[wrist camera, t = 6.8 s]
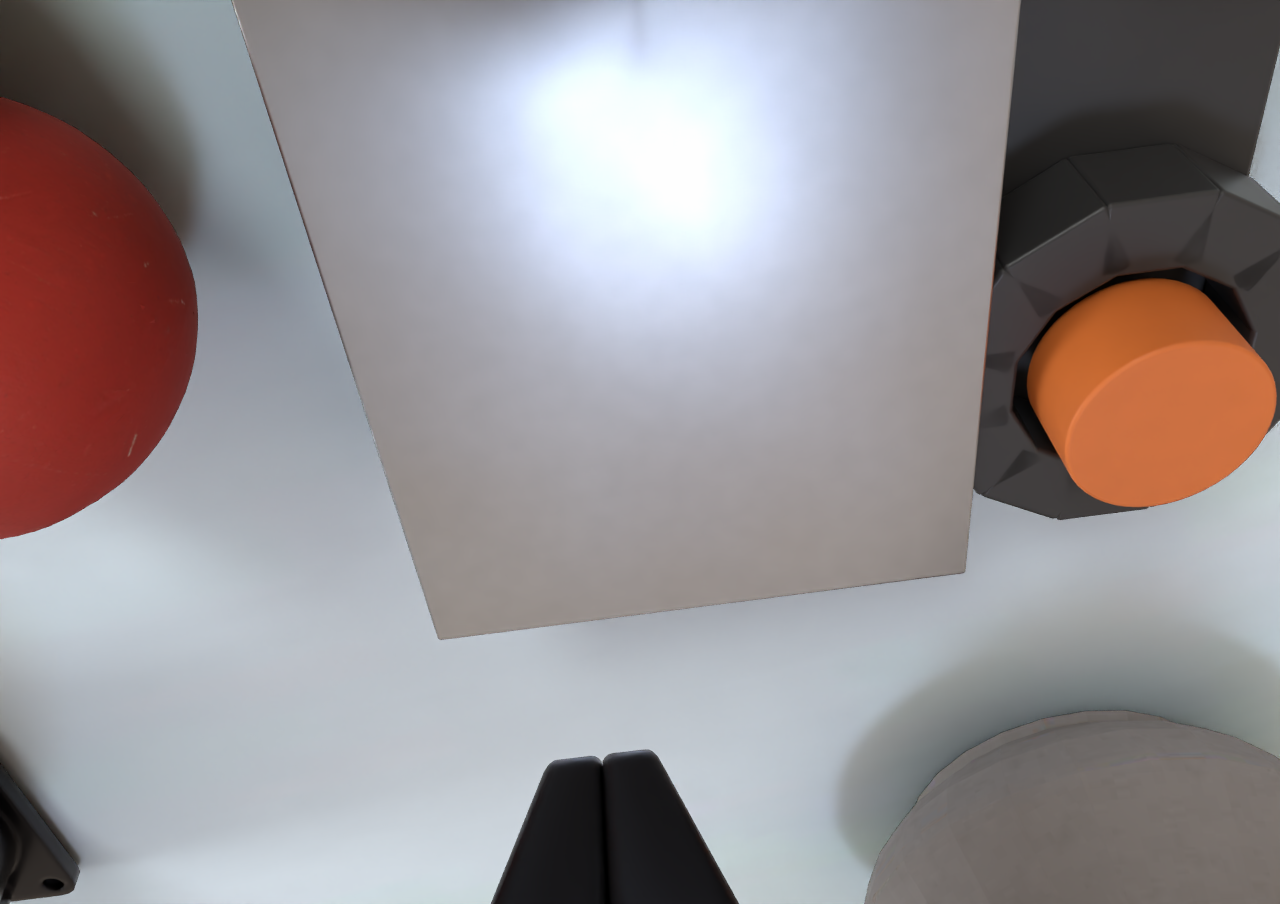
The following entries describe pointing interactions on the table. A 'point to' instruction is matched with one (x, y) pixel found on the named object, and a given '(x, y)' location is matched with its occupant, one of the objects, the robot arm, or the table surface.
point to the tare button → (1149, 393)
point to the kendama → (82, 321)
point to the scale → (1124, 198)
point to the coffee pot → (1092, 819)
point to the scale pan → (654, 284)
